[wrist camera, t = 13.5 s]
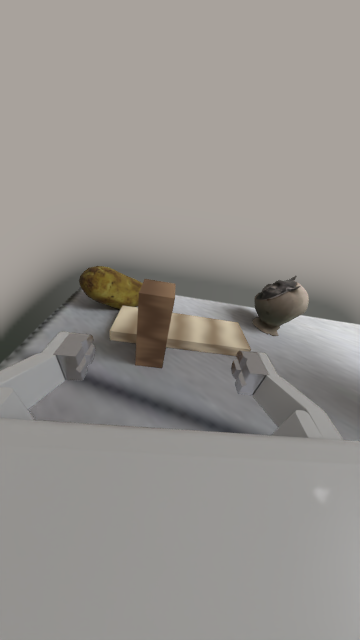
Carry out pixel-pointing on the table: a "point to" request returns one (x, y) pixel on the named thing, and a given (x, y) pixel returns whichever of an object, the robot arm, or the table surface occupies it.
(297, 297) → the round clay pot
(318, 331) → the table surface
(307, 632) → the robot arm
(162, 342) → the wooden block
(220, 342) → the plank
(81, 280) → the potato
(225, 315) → the table surface
